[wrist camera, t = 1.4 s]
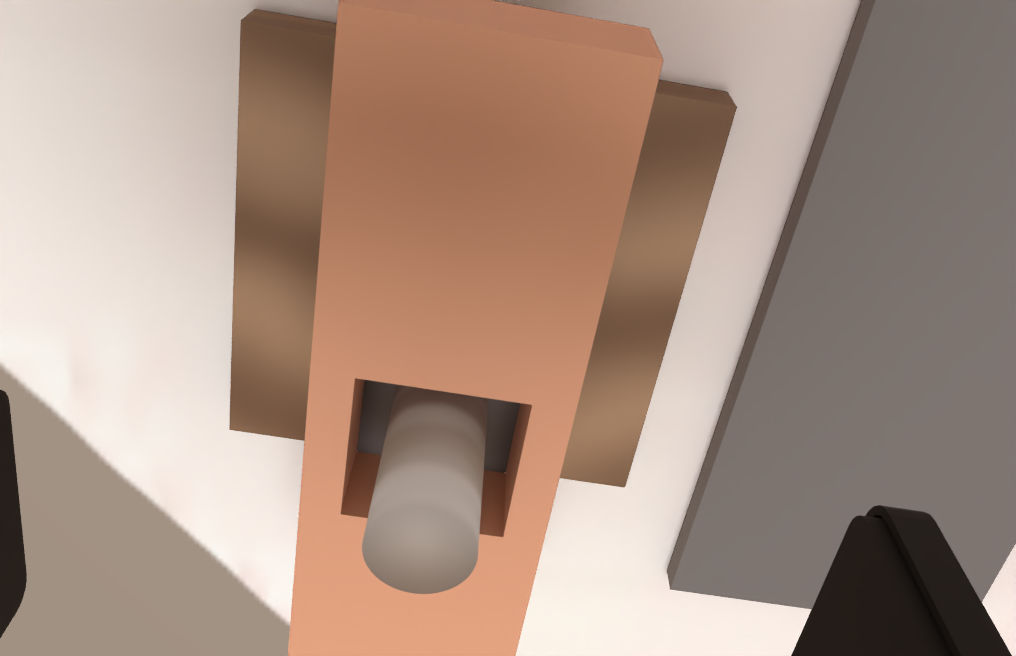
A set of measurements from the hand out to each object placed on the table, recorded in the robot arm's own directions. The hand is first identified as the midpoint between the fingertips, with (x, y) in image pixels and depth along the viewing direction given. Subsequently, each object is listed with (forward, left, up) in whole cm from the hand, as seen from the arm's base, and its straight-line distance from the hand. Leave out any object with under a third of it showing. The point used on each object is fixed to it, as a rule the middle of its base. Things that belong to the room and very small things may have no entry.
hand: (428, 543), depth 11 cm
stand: (+7, 0, -20) cm, 21 cm away
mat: (+7, +16, -20) cm, 27 cm away
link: (+7, 0, -12) cm, 14 cm away
